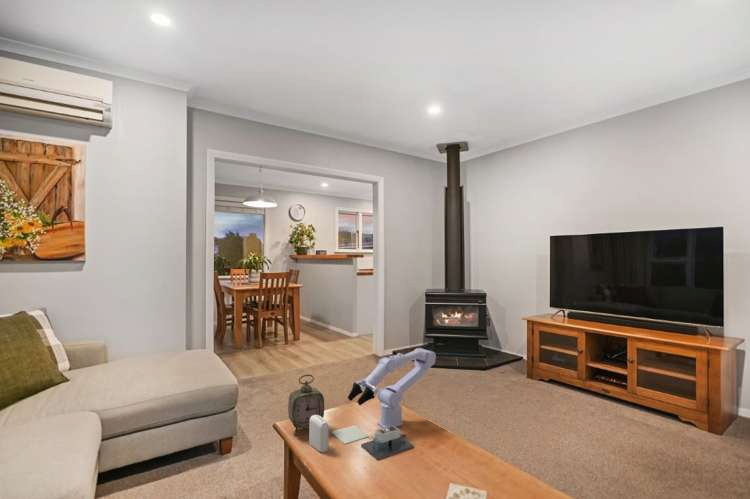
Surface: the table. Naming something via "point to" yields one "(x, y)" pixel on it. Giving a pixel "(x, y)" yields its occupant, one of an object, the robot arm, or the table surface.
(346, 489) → the table surface
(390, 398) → the robot arm
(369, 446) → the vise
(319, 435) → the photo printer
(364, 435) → the sage mat
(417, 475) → the table surface
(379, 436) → the gray rectangular frame
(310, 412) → the tabletop clock
